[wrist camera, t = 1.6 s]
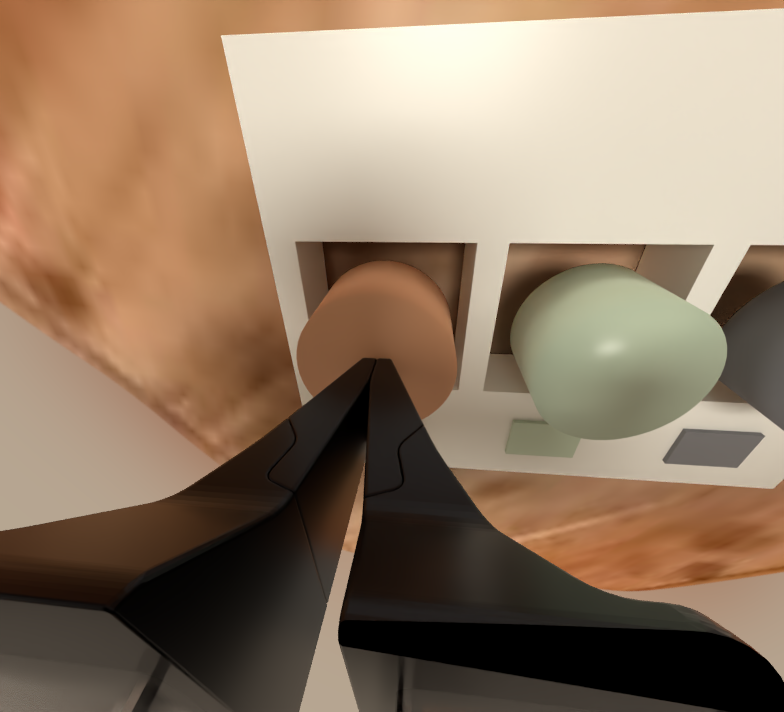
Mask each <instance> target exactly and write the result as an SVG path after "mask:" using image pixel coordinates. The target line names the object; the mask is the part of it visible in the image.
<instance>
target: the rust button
mask: <svg viewBox="0 0 784 712" xmlns="http://www.w3.org/2000/svg"><path fill="white" fill-rule="evenodd" d="M362 358H376V359H379V358H387V359H391V360H392V361H393V363H394V365H395V367H396V369H397V371H398V373H399V375H400V377H401V379H402V381H403V383H404V385H405V388H406V390H407V392H408V394H409V396H410V398H411V400H412V402H413V404H414V406H415V408H416V410H417V412H418V414H419V416H420V418H421V420H422V419H424V418H426V417H428V416H429V415H431V414H432V413H433V412H435V411H436V410H437V409H438V408H439V407H440V406H441V405H442V404H443V403H444V402H445V401H446V399H447V398H448V397H449V395H450V393H451V391H452V389H453V387H454V384H455V381H456V376H457V358H456V351H455V344H454V337H453V330H452V324H451V317H450V310H449V307H448V303H447V301H446V299H445V296H444V295H443V293H442V291H441V290H440V288H439V287H438V286H437V285H436V283H435V282H434V281H433V280H432V279H431V278H429V277H428V276H427V275H426V274H424V273H423V272H421V271H420V270H418V269H416V268H414V267H412V266H409V265H407V264H404V263H400V262H395V261H373V262H368V263H364V264H361V265H358V266H356V267H354V268H352V269H350V270H349V271H347V272H346V273H344V274H343V275H342V276H341V277H340V278H339V279H338V280H337V281H336V282H335V283H334V285H333V286H332V287H331V289H330V290H329V292H328V293H327V295H326V296H325V297H324V299H323V300H322V302H321V303H320V305H319V306H318V308H317V309H316V310H315V312H314V313H313V315H312V316H311V318H310V319H309V320H308V322H307V323H306V325H305V327H304V328H303V330H302V332H301V335H300V337H299V340H298V345H297V354H296V359H297V366H298V370H299V374H300V376H301V379H302V381H303V383H304V385H305V386H306V388H307V390H308V391H309V392H310V394H311V395H312V396H313V397H314V396H316V395H317V394H318V393H319V392H321V391H322V390H323V389H324V388H326V387H327V386H328V385H329V384H331V383H332V382H333V381H334V380H336V379H337V378H338V377H339V376H341V375H342V374H343V373H344V372H346V371H347V370H348V369H349V368H351V367H352V366H353V365H354V364H356V363H357V362H358V361H360V360H361V359H362Z"/></svg>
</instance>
